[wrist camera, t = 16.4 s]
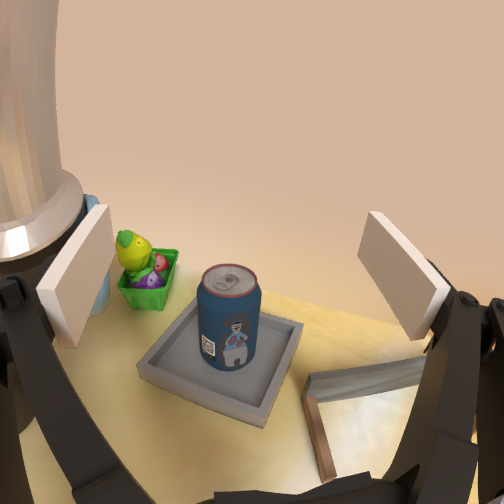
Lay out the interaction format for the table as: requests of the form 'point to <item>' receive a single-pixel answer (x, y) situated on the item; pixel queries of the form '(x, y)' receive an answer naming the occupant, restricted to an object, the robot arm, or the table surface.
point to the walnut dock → (352, 386)
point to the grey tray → (220, 382)
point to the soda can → (228, 316)
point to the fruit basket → (144, 271)
